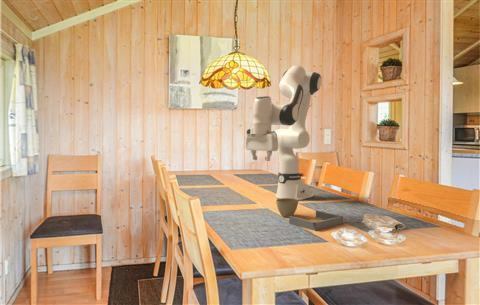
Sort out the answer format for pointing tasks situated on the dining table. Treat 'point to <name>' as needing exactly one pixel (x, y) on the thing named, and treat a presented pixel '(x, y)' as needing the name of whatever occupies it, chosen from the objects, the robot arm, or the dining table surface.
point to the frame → (327, 222)
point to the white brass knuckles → (381, 222)
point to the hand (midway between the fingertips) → (261, 160)
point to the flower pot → (287, 206)
